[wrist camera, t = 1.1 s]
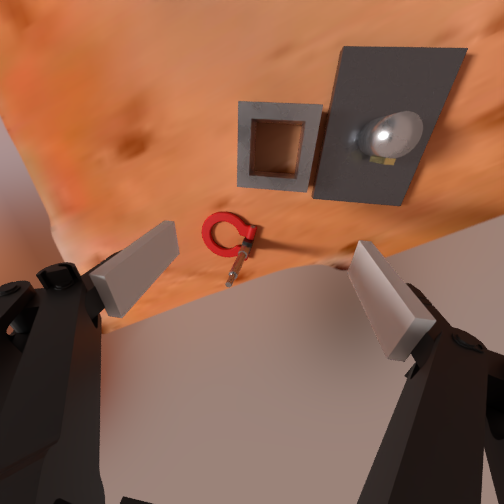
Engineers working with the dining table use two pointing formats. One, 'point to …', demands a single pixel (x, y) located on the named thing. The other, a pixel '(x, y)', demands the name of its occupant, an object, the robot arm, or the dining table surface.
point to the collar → (279, 115)
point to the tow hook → (238, 250)
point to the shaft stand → (382, 120)
